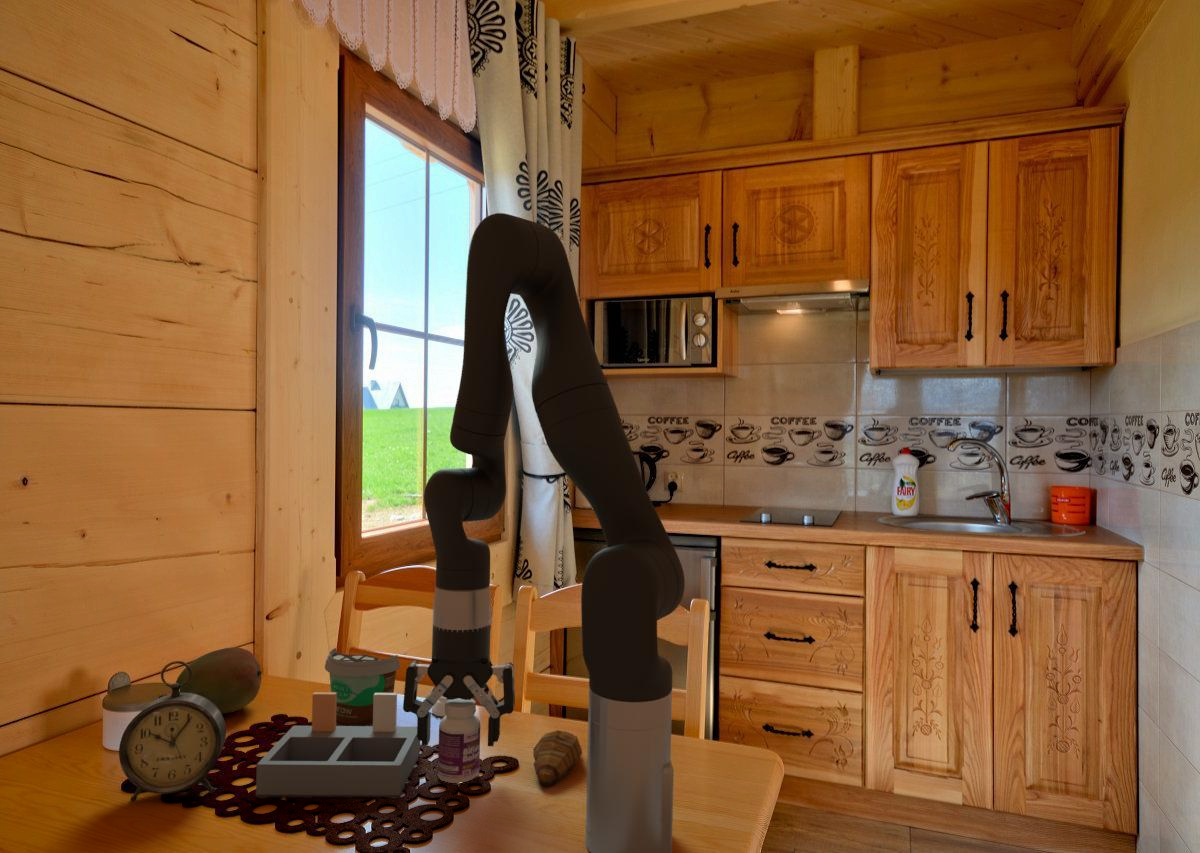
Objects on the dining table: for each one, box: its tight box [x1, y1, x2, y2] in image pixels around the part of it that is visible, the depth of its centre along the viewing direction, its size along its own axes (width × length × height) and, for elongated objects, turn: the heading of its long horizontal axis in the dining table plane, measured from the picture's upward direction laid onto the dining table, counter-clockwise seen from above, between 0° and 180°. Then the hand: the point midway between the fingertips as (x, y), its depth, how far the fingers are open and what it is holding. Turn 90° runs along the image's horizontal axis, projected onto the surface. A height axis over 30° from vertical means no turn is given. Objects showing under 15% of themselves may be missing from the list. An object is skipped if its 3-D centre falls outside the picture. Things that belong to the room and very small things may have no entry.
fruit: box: [175, 646, 262, 715], centre depth 118 cm, size 12×12×10 cm
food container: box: [324, 647, 401, 726], centre depth 116 cm, size 12×6×10 cm, turn 73°
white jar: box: [431, 696, 448, 718], centre depth 120 cm, size 5×3×5 cm
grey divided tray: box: [255, 691, 421, 799], centre depth 98 cm, size 17×12×9 cm
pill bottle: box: [437, 698, 481, 784], centre depth 98 cm, size 5×5×10 cm
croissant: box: [532, 729, 583, 787], centre depth 102 cm, size 14×7×5 cm, turn 170°
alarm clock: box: [118, 660, 227, 802], centre depth 92 cm, size 11×5×16 cm, turn 105°
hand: (458, 743), depth 98 cm, fingers open, 8 cm apart
